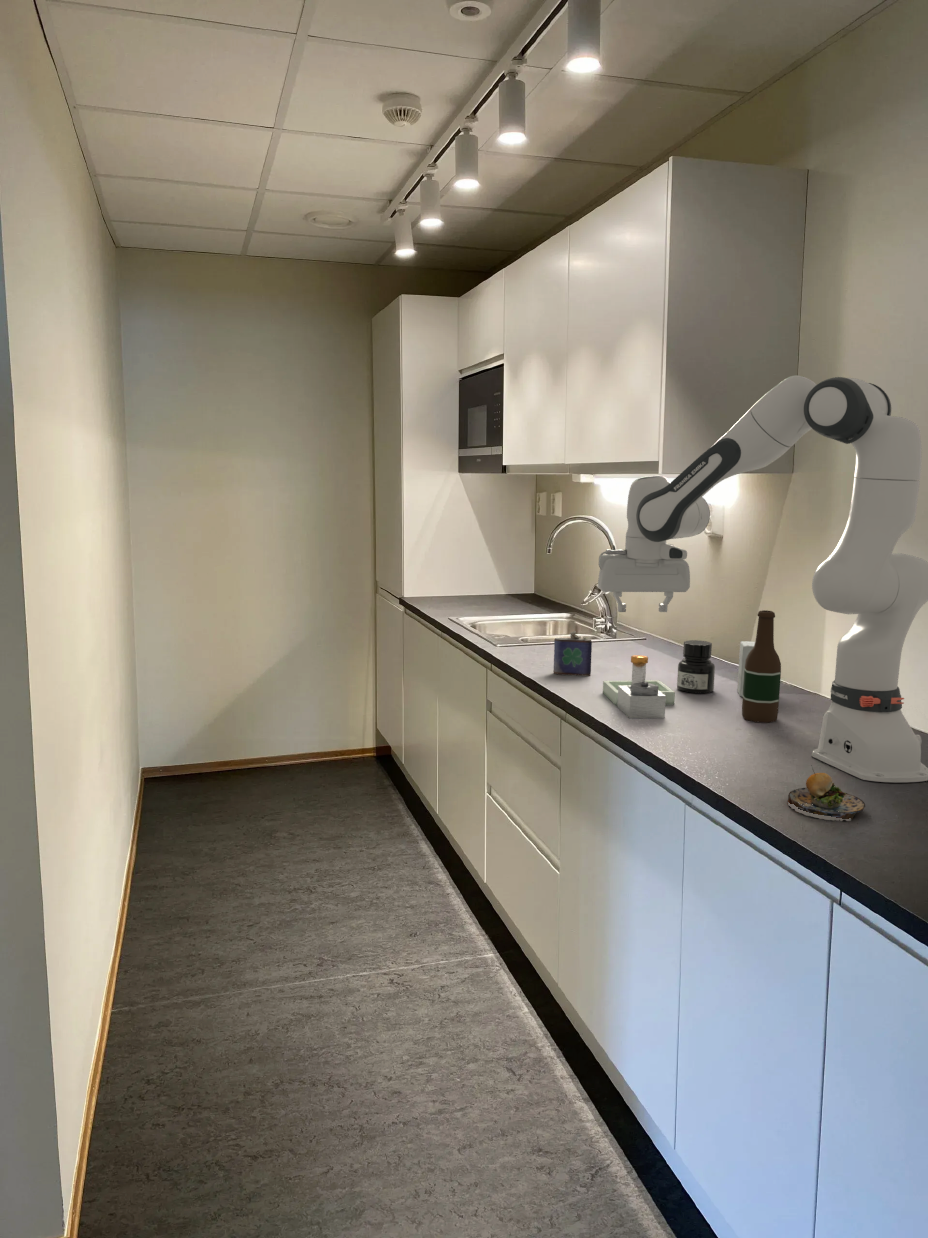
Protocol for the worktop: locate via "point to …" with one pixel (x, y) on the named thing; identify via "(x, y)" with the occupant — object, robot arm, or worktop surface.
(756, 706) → the beer bottle
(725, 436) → the robot arm
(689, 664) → the ink bottle
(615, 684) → the tray
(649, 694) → the block
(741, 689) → the supplement box
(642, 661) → the pin
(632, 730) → the worktop surface
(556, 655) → the flask
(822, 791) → the burger
